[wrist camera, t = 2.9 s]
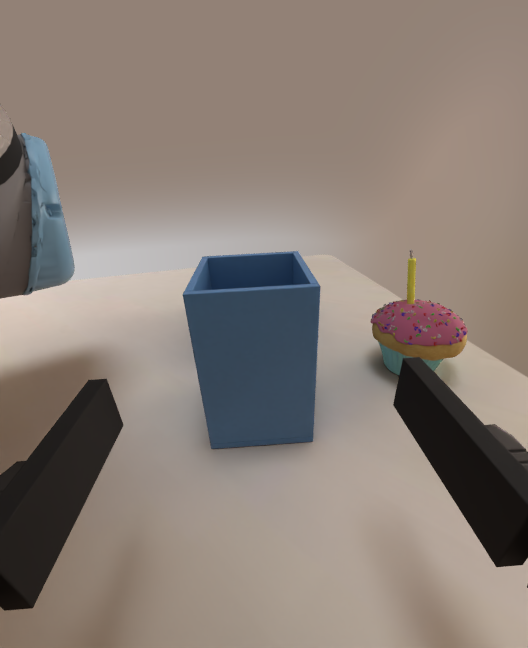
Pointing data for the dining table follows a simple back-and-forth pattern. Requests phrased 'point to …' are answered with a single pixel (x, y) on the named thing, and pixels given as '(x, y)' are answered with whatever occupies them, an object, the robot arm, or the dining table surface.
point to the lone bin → (255, 347)
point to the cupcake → (417, 329)
